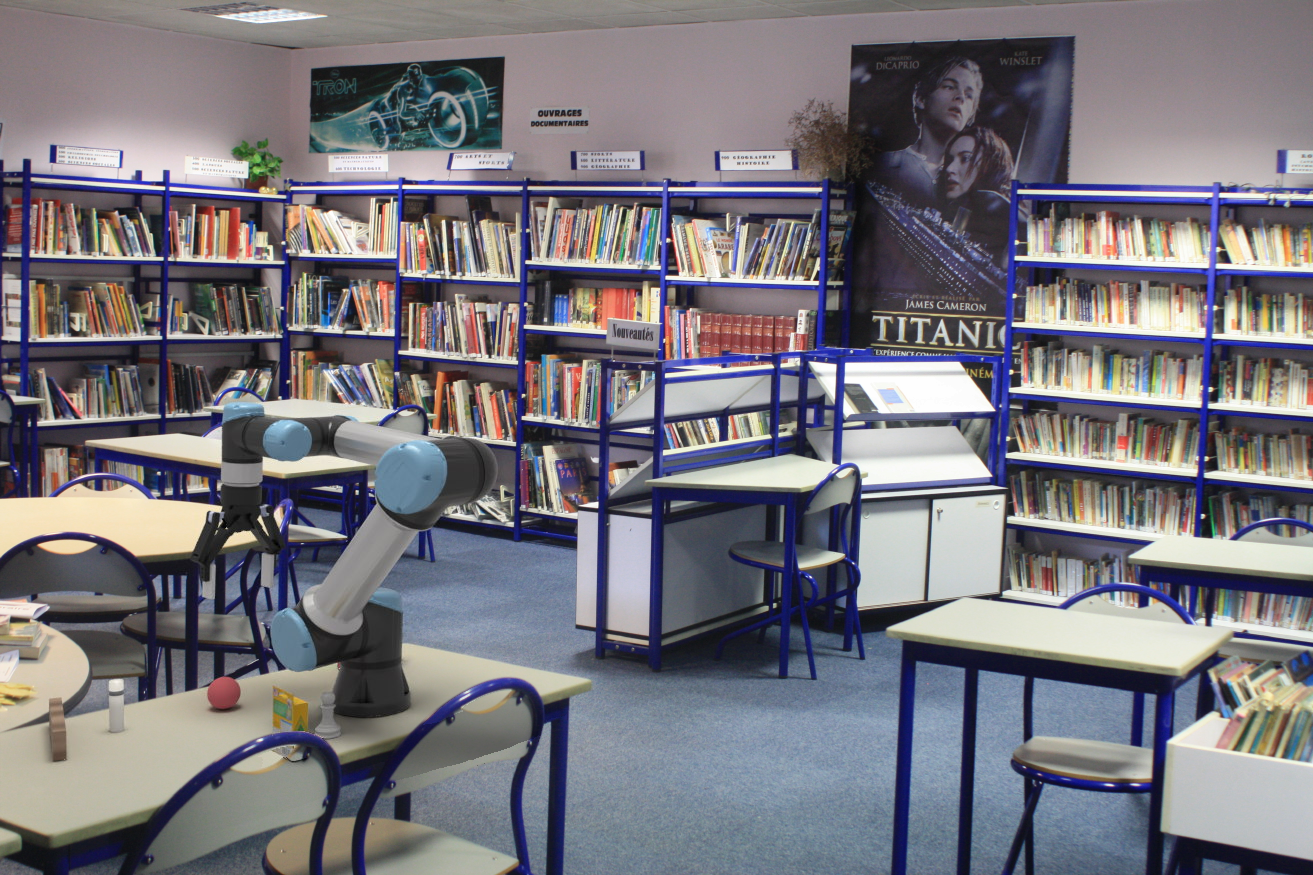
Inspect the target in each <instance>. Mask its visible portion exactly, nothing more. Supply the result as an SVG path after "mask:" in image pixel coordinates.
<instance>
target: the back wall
mask: <svg viewBox="0 0 1313 875" xmlns="http://www.w3.org/2000/svg"><path fill="white" fill-rule="evenodd" d="M64 713H65V712H64V707H63V699H62V697H52V698H51V697H50V698H48V716H49V718H48V720H49V721H48V722H49V723H48V724H49V725H48V726H50V727H49V736H51V737H50V744H51V746H52V747H51V746H50V747H51V754H52V755H51V756H52V762H53V761H54V762H56V761H55V760H62V761H65V760H64V759H66V760H67V726H66V721H65V720H66V719H65V714H64Z"/></svg>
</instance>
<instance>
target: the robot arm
mask: <svg viewBox="0 0 1313 875" xmlns="http://www.w3.org/2000/svg"><path fill="white" fill-rule="evenodd" d="M222 411H223V412H222V421H221V424H220V425H221V462H220V463H221V465H220V466H221V468H220V471H221V472H220V480H221V482H223V483H222V484H221V485H220V492H219V493H220V494H219V495H220V496H219V499H220V500H219V501H220V503H221V510H220V511H214V510H207V512H206V516H205V522H204V525H203V527H202V530H201V532H200V534H199V537H198V538H197V542H196V544H195V545H194V548H193V551H192V553H191V555H190V557H189V558H190V561H191V562H194V563H198V564H199V580H200V581H201V582H202V589H201V590H202V591H201V593H202V594H201V597H202V598H205V599H209V600H215V599H216V598H215V596H216V570H217V569H216V568H217V567H216V566H217V565H216V564H215V563H213V562H214V561H215V559H216V557H218V555H219V553H220V552H221V550H222V549H223V547H224V546H225V544H226V543H227V541H228V540H229V538H230V537H232V536H234V534H236V533H237V534H238V533H239V534H240V533H242V532H251V534H252V535H253V537H254V538H255V539H256V540H257V541H258V543H259V545H261V547H262V548H263V550H264V551H265V552H263V553H261V569H260V570H261V574H260V577H261V578H260V587H261V586H262V587H266V588H269V589H271V588H274V570H276V568H277V555H281V552H282V550H285V549H286V548H287V546H286V543H285V540H284V538H283V536H282V533H281V530H280V527H279V525H278V522H277V520H276V518H275V510H274V509H275V508H274V506H273V505H270V504H265V503H263V504H261V503H262V500H263V499H262V498H263V485H261V484H260V483H262V482H263V476H264V473H263V470H264V468H263V466H264V464H263V463H264V458H266V459H272V460H277V461H279V462H291V463H293V462H298V461H301V460H302V459H304V458H310V457H319V456H331V457H335V458H340V459H344V460H345V459H346V460H349V461H355V462H358V463H362V464H365V465H366V464H367V465H371V466H373V467H374V466H375V467H376V468H375V471H374V475H375V476H376V479H375V480H374V481H373V482H374V490H375V492H374V497H375V502H376V504H375V505H374V506H373V508H372V510H371V511H370V513H369V514H368V516H367V517H366V519H365V520H363V521H364V522H363V523H362V525H361V526H360V527H359V529H358V530H357V531H356V533H355V534H354V536H353V538H352V539H351V541H350V542H349V543H348V545H347V546H346V548H345V549H344V550H343V552H342V554H340V557H339V558H338V559H337V561H336V562H335V563H334V565H333V567H332V568H331V569H330V571H329V573H328V574H327V575H326V577H325V579H323V581H322V583H321V584H316V585H312V586H311V587H309V588H308V589H307V590H306V591H305V593H304V594H303V596H301V598H300V600H299V602H298V603H297V604H296V605H295V606H293V607H291V608H290V607H286V608H284V609H282V610H279V611H278V612H277V613H276V614H275V615H274V616H273V617H272V618H273V619H272V620H271V623H270V624H271V625H270V638H271V646H272V648H273V651H274V654H275V655H276V656H275V657H277V659H278V661H279V663H281V664H282V665H283V666H284V667H285V668H286V669H287V670H288V671H291V672H294V673H302V672H312V671H315V670H316V669H320V668H323V667H327V666H330V665H335V664H338V663H339V662H340V669H338V671H337V675H336V679H335V681H334V683H333V687H332V690H331V692H332V693H334V695H335V701H334V702H333V703H332V704H335V705H336V706H335V707H334V709H333V713H337V714H340V715H342V716H348V717H355V718H356V717H357V718H370V717H371V718H375V717H384V716H389V715H394V714H397V713H400V712H403V711H405V710H407V709H409V707H410V706H411V690H410V686H409V684H408V683H409V682H408V681H407V677H406V674H405V671H404V667H403V660H402V659H403V658H402V656H403V624H404V623H403V622H404V620H403V619H404V618H403V617H404V616H403V615H404V610H403V598H402V594H400V592H398V591H397V590H395V589H391V588H385V587H380V586H381V584H382V583H383V581H384V580H385V578H387V576H388V575H389V574H390V572H391V570H392V569H393V567H394V566H395V565H396V564H397V563H398V561H399V559H400V558H401V556H402V555H403V554H404V552H405V551H406V549H407V548H408V547H409V546H410V544H411V542H413V540H414V538H415V537H416V536H417V534H418V533H419V532H425V531H428V530H431V529H432V528H433V527H434V526H435V525H436V523H437V521H439V519H440V518H441V517H442V515H443V514H444V512H445V511H446V510H447V509H448V508H450V507H456V506H457V507H458V506H463V505H470V504H474V503H475V502H479V501H480V500H482V499H483V498H485V497H486V496H487V495H488V494H490V492H491V491H492V490H493V488H494V486H495V485H496V481H497V479H498V475H499V474H498V472H499V469H498V467H499V466H498V461H497V459H496V456H495V454H494V453H493V451H492V450H491V448H490V447H489V446H488V445H487V444H486V443H484V442H483V441H481V440H479V439H477V438H474V437H473V438H472V437H471V438H470V437H460V436H456V435H447V436H444V437H442V438H438V437H433V436H429V435H424V434H419V433H413V432H408V431H405V430H400V429H395V428H390V427H386V426H380V425H376V424H371V423H367V422H366V423H365V422H361V421H359V420H358V419H357V418H356V417H355V416H352V415H343V414H336V415H331V416H329V415H328V416H316V417H314V416H313V417H311V416H310V417H289V418H275V417H268V416H266V413H265V407H264V405H262V404H261V403H256V402H248V401H247V402H246V401H245V402H244V401H243V402H242V401H240V402H239V401H237V402H229V403H226V404H224V406H223V410H222ZM260 504H261V505H260ZM260 517H261V521H262V522H263V525H264V527H265V530H264V527H263V525H262V523H261V522H260V521H259V520H258V519H259V518H260Z"/></svg>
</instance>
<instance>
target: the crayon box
mask: <svg viewBox="0 0 1313 875" xmlns="http://www.w3.org/2000/svg"><path fill="white" fill-rule="evenodd" d="M280 693H281V694H280ZM308 727H309V702H307V701H305V700H303V699H300V698H299V697H296V696H294V694H293V693H291V692H289V691H286V690H285V689H282V688H281V687H278V686H276V685H272V735H273V734H275V733H280V732H291V731H305V732H309V728H308ZM293 749H294V746H286V747H280V748H276V749H273V750H271V751H272V752H273V753H276V754H277V755H279V756H281V757H283V758H285V759H287V758H286V757H287V756H288V755H289V754H290V753H291V752H292V751H293Z"/></svg>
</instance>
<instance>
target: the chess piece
mask: <svg viewBox="0 0 1313 875" xmlns="http://www.w3.org/2000/svg"><path fill="white" fill-rule="evenodd" d="M320 701H321V703H322V704H320V706H319V708H321V709H322V710H321V711H322V712H321V713H322V719H321V721H320V723H319V725H317V726H316V727H315V729H314V730H315V732H314V733H315V734H317V735H319V736H321V737H323V738H324V739H323V740H332V739H337V738H338V737H340V736H341V734H342V731H341V730H340V729H341V726H339V725H338V724H337V722H336V721H335V718H334V711H333V709H334V707H335V706H336V705H335V704H332V703H333V702H334V701H335V695H334V693H332V691H324V692H322V693H321V695H320Z"/></svg>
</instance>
